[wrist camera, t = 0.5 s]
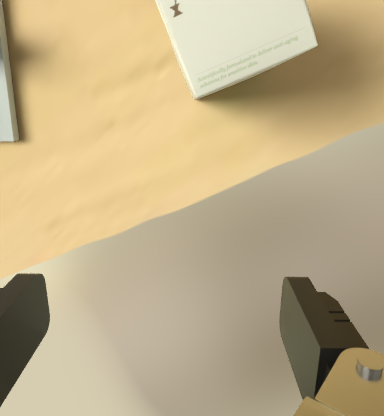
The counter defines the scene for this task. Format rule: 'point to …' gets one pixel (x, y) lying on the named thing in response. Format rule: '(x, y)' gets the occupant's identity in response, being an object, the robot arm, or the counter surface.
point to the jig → (6, 89)
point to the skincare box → (234, 38)
